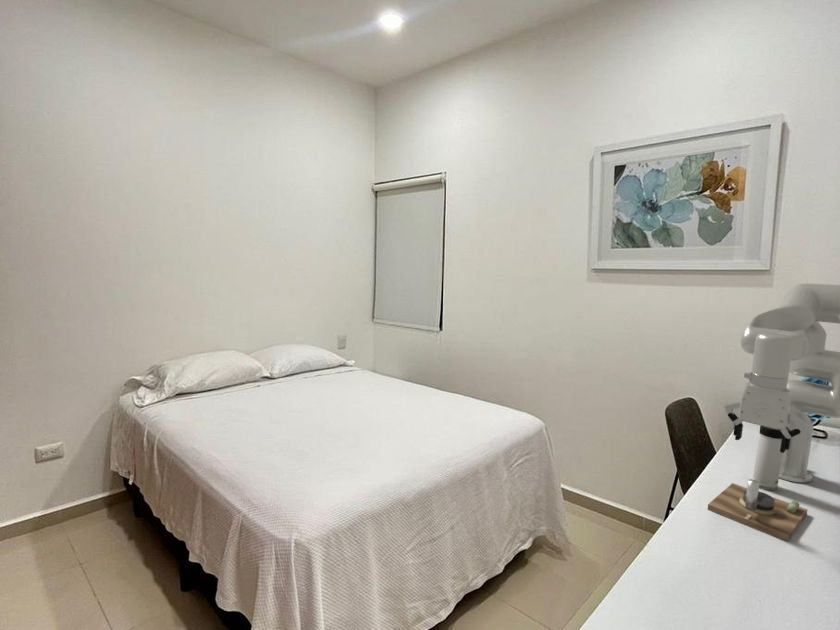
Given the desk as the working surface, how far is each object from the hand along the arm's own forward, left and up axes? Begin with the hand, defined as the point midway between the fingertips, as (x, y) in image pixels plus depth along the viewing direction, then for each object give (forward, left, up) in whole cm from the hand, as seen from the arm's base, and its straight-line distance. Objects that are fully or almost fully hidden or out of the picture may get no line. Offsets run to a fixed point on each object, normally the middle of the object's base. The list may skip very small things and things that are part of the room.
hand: (759, 444), depth 119 cm
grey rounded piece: (-5, 0, -19) cm, 20 cm away
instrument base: (-8, 0, -22) cm, 23 cm away
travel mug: (-28, -3, -22) cm, 36 cm away
